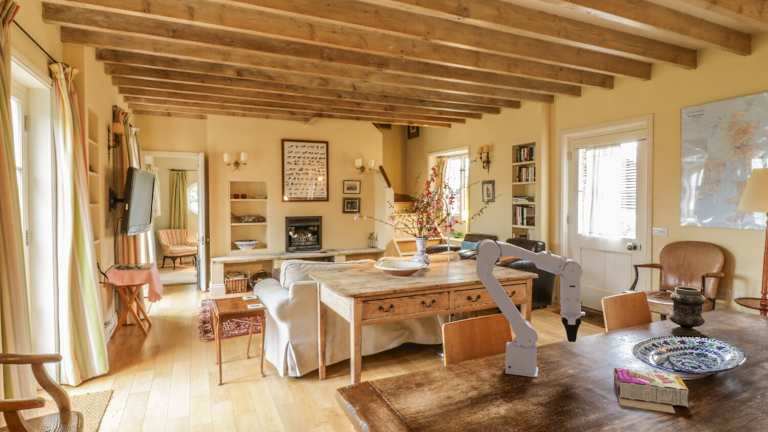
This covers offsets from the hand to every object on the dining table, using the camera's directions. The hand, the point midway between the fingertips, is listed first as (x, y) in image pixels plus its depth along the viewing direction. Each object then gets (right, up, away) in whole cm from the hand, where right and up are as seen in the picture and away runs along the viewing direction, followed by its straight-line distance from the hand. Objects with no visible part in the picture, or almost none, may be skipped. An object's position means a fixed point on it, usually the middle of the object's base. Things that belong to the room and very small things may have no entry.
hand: (571, 341), depth 138 cm
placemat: (+13, -11, -17) cm, 24 cm away
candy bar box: (+7, -8, -12) cm, 16 cm away
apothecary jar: (+64, -8, +41) cm, 77 cm away
